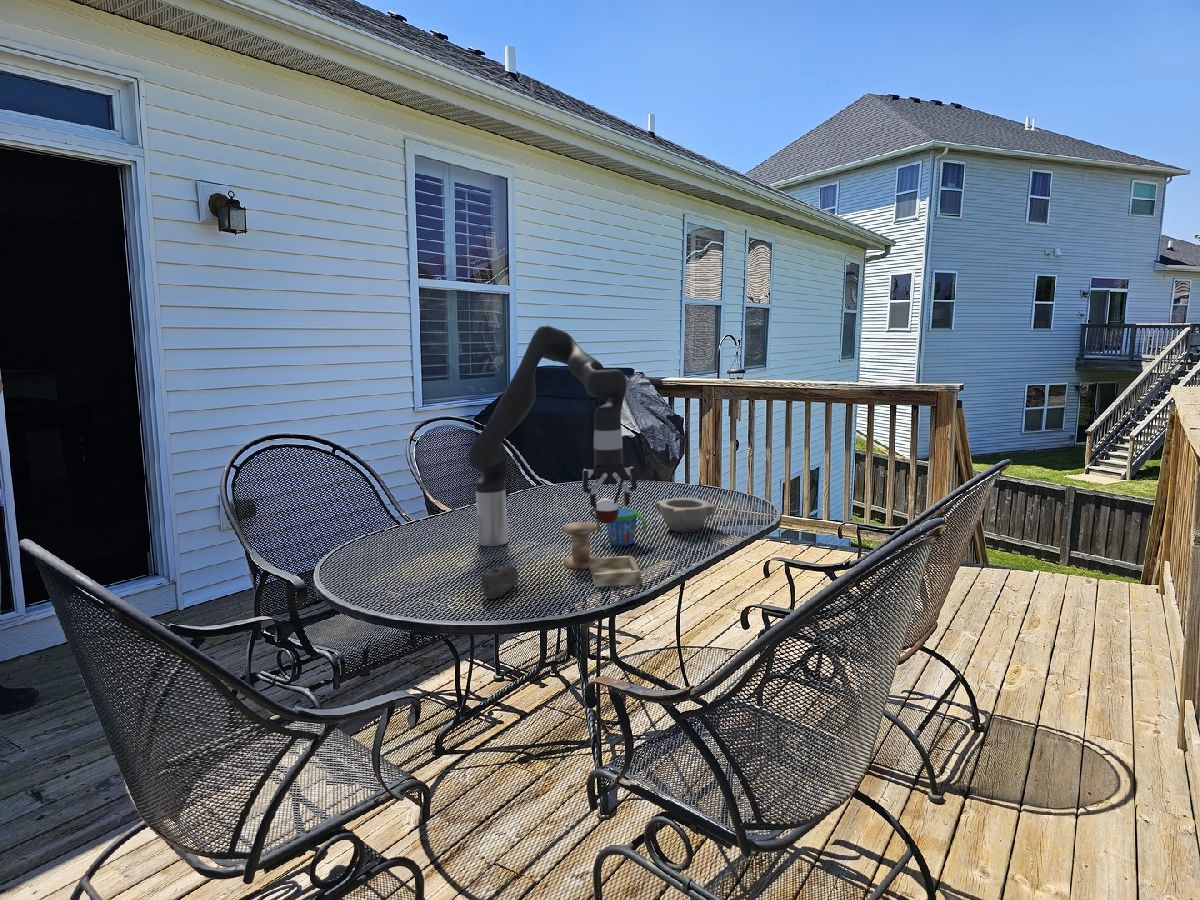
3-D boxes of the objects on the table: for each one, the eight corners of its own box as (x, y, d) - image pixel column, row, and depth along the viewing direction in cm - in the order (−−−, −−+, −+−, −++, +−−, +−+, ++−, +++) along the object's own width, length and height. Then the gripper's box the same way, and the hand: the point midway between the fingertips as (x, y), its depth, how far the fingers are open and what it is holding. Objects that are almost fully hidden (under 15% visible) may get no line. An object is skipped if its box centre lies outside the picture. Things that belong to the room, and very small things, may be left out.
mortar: (721, 531, 238) (721, 504, 237) (676, 538, 231) (675, 510, 230) (693, 520, 253) (693, 494, 252) (650, 527, 247) (650, 500, 245)
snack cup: (591, 546, 227) (590, 514, 225) (605, 537, 236) (604, 506, 235) (639, 550, 220) (638, 517, 219) (651, 541, 230) (650, 509, 228)
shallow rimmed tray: (595, 587, 189) (594, 574, 189) (589, 569, 204) (589, 557, 204) (640, 584, 191) (640, 571, 190) (632, 566, 205) (632, 555, 205)
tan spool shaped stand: (564, 570, 204) (563, 532, 202) (562, 559, 214) (561, 523, 212) (600, 568, 205) (599, 529, 203) (597, 557, 215) (595, 521, 213)
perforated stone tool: (509, 582, 195) (508, 557, 194) (526, 585, 193) (524, 559, 192) (475, 601, 182) (473, 574, 181) (492, 604, 180) (491, 577, 179)
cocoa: (588, 523, 196) (584, 479, 194) (602, 517, 200) (599, 474, 198) (615, 527, 190) (612, 481, 188) (630, 521, 194) (627, 476, 192)
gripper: (582, 449, 188) (584, 511, 190) (637, 447, 189) (638, 508, 191) (580, 445, 195) (582, 505, 197) (633, 443, 196) (634, 502, 199)
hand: (610, 506), depth 194 cm, fingers closed on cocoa, 8 cm apart
